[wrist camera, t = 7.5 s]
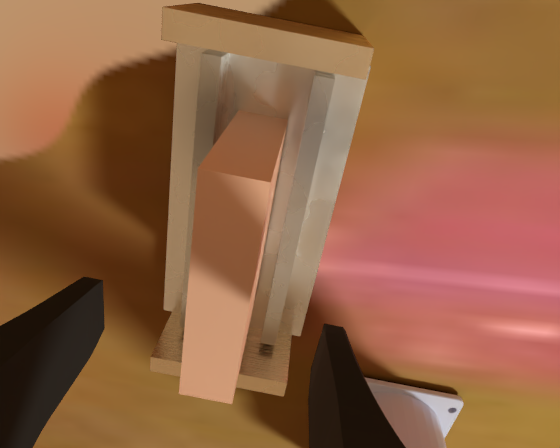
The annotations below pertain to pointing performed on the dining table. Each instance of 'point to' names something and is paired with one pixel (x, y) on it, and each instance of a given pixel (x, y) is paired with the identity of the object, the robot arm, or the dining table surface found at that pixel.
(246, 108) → the door track
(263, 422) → the dining table surface
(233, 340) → the door panel
